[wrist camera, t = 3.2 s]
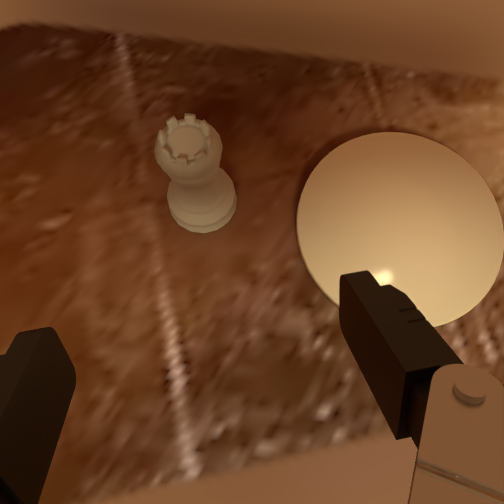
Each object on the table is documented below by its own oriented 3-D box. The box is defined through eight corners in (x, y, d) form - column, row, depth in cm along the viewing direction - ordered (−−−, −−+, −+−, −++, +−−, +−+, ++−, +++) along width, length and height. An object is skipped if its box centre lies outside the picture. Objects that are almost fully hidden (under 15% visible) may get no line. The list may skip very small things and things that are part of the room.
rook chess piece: (184, 163, 25) (157, 83, 18) (246, 183, 25) (247, 111, 17) (159, 223, 24) (119, 165, 17) (224, 244, 24) (215, 195, 16)
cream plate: (320, 348, 23) (324, 348, 22) (277, 155, 26) (278, 148, 25) (522, 308, 23) (534, 307, 22) (457, 126, 26) (465, 118, 26)
